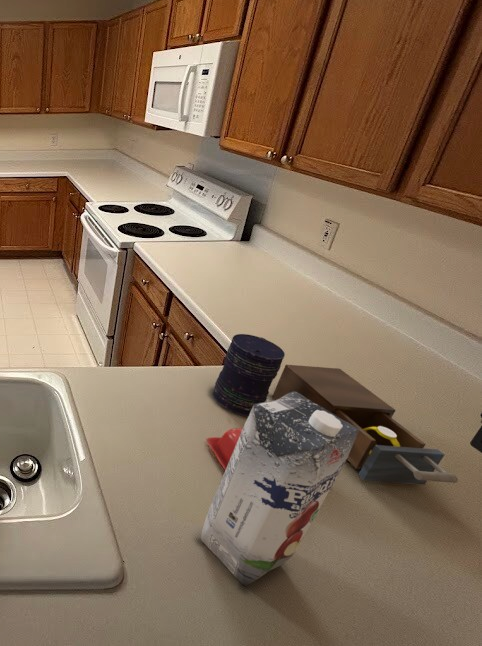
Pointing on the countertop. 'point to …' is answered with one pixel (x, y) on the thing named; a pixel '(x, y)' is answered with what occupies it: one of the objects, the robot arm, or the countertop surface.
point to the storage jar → (247, 373)
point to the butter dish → (225, 445)
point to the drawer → (391, 452)
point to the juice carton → (275, 484)
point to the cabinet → (329, 389)
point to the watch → (385, 434)
